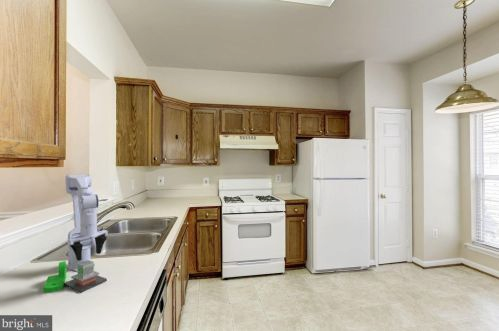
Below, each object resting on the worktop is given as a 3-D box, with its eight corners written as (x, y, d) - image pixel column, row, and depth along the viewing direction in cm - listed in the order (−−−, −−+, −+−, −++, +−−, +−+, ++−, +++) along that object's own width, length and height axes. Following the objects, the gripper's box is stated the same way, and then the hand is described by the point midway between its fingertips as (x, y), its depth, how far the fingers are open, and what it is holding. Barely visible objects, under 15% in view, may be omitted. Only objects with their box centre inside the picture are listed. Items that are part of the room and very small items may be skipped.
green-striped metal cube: (77, 276, 96) (77, 263, 96) (88, 271, 99) (87, 260, 99) (83, 278, 94) (83, 265, 94) (93, 273, 98) (93, 261, 97)
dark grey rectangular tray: (63, 285, 95) (63, 276, 95) (89, 274, 104) (89, 267, 104) (80, 292, 90) (80, 283, 90) (106, 281, 99) (106, 272, 99)
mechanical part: (48, 281, 99) (47, 262, 99) (66, 277, 102) (66, 259, 102) (42, 294, 89) (41, 273, 89) (62, 290, 92) (62, 270, 92)
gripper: (74, 229, 90) (75, 265, 90) (111, 221, 103) (112, 252, 103) (64, 227, 93) (65, 261, 93) (101, 219, 106) (102, 249, 106)
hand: (89, 256), depth 98 cm, fingers open, 7 cm apart
